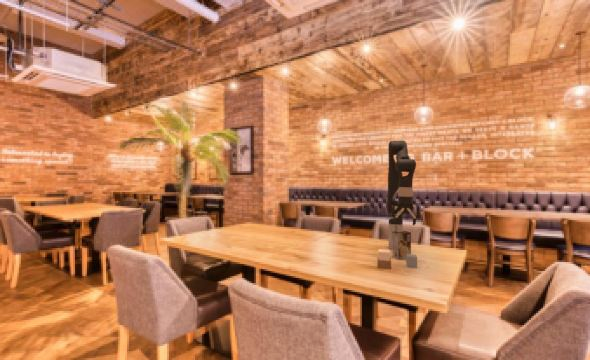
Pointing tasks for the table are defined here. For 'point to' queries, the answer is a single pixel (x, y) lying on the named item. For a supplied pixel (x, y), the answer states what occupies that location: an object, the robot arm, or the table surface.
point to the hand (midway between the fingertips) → (405, 224)
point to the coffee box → (401, 244)
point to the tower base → (384, 264)
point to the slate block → (411, 260)
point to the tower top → (384, 255)
